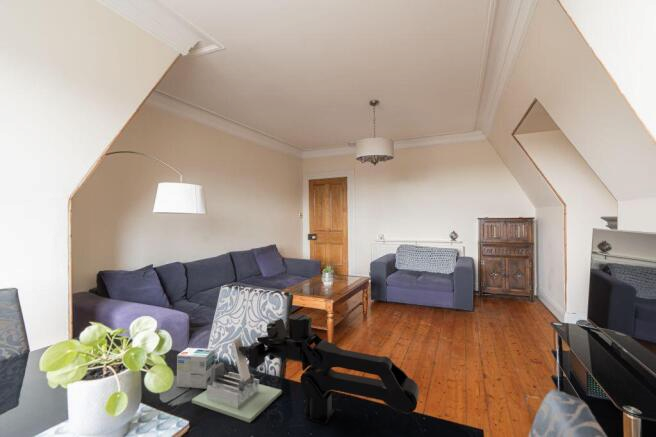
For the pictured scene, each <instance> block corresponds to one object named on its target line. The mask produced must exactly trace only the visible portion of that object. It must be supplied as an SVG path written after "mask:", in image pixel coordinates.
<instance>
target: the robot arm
mask: <svg viewBox="0 0 656 437" xmlns="http://www.w3.org/2000/svg"><path fill="white" fill-rule="evenodd" d="M312 320H313V319H312V317H311V316H308V315H305V313H304V314H303V313H295V314H291V315H290V316H288V328H289V329H287V328H286V325H285V322H284V319H283V318H279V319H275V320H273V321H269V322H268V323H267V324H266V334H267V335H265V336H259V337H257V338H256V340H257V341H255V342H253V343H252V344H250V345H243V346H240V347H239V351H240V352H241V353H242V354H243V355H244V356H245V357H246V360H247V361H248V368H250V369H258V368H259V367H260V366H263V364H264V363H265V362H266V357H267V356H269V358H268V359H269V361H273V360H275V359H280V362H281V363H285V362H286V361H291V362H297V363H301V369H302V371H304V372H302V373H301V374H300V379H299V381H300V384H301V387H302V389H303V392H304V396H305V402H306V403H305V405H306V406H305V415H304V419H305V420H310V421H312V422H317V423H319V424H323V425H327V423H328V420H330V418H331V416H332V415H333V414H334V412H335V410H334V409H333V408H332V407H333V406H332V403H333V402H332V401H333V400H332V399H333V398H332V396H333V395H332V394H333V393H332V392H330V391H335V392H338V393H339V392H340V393H344V394H348V395H355V396H359V397H363V398H364V397H365V398H368V399H369V398H370V399H372V400H374V399H375V400H379V401H382V402H383V403H384V404H386V405H387V406H388V407H390V408H391V409H393V410H396V411H398V412H401V413H404V414H412V413H413V412H414V411H416V409H417V407H418V402H419V401H418V400H419V394H420V390H419V389H420V388H419V385H418V384H417V382H415V380H414V379H413V378H410V377H409V376H408V375H407V373H406V372H405V371H404V370H403V369H401V368H400V367H399V366H398V365H396V364H395V362H394V361H392V359H391V358H390V357H388V356H379V355H374V354H368V353H363V352H359V351H358V352H356V351H352V350H347V349H343V348H341V347H339V346H337V345H336V344H334V343H332V342H330V341H327V340H324V339H323V338H322V337H321V336H319V335H318V334H317V333H316V332H312ZM313 344H314V345H313ZM312 345H313V346H312ZM333 368H341V369H345V370H351V371H356V372H361V373H364V374H365V373H366V374H369V375H370V374H371V375H374V376H378V377H379V379H378V378H373V377H366V376H363V375H356V374H352V373H347V372H340V371H337V370H335V369H333Z"/></svg>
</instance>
